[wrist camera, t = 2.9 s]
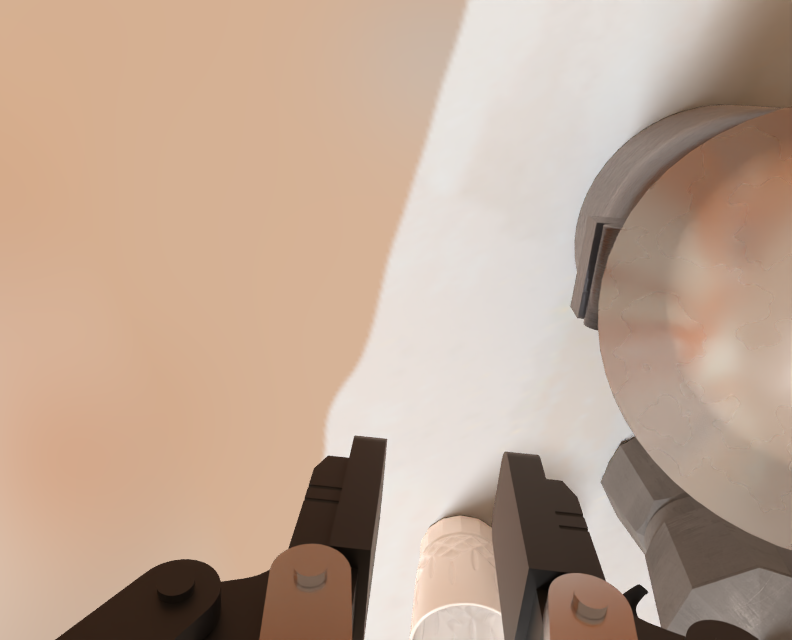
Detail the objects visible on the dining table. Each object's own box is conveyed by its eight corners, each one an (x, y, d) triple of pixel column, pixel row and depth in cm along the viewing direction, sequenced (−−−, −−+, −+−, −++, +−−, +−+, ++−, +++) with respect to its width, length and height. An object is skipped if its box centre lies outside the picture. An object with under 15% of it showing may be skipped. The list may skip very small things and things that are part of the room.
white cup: (497, 500, 51) (510, 594, 41) (516, 575, 53) (533, 680, 44) (403, 518, 52) (396, 613, 42) (426, 591, 54) (425, 695, 45)
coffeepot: (685, 385, 46) (827, 557, 29) (769, 458, 48) (948, 661, 31) (536, 511, 51) (586, 722, 34) (617, 574, 53) (702, 805, 36)
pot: (875, 117, 39) (1052, 130, 28) (790, 363, 45) (908, 456, 34) (570, 90, 39) (622, 91, 28) (527, 337, 46) (556, 419, 34)
